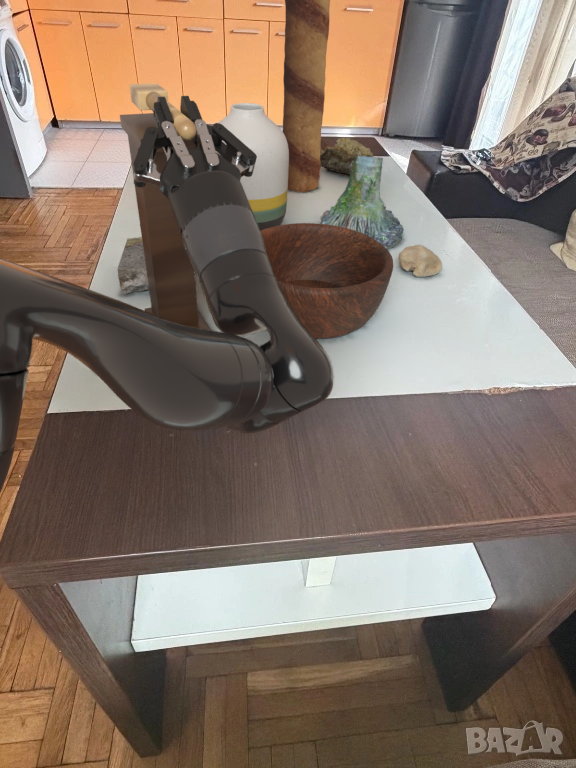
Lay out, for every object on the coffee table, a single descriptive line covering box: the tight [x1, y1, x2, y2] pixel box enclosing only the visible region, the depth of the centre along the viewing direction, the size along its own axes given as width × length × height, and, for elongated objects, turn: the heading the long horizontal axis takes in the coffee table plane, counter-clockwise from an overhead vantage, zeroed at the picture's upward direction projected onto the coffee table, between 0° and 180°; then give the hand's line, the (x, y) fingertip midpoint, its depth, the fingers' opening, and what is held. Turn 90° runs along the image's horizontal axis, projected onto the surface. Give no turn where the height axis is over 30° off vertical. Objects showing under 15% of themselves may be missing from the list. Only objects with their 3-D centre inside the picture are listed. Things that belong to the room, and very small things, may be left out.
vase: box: [216, 102, 289, 231], centre depth 109 cm, size 17×17×24 cm
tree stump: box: [319, 156, 404, 250], centre depth 114 cm, size 18×20×18 cm
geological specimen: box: [116, 236, 149, 296], centre depth 95 cm, size 11×6×15 cm
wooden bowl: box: [261, 222, 394, 340], centre depth 87 cm, size 25×25×10 cm
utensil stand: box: [119, 112, 211, 330], centre depth 74 cm, size 12×8×30 cm, turn 25°
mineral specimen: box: [320, 137, 375, 176], centre depth 145 cm, size 14×13×10 cm
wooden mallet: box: [129, 83, 196, 141], centre depth 60 cm, size 20×4×2 cm, turn 25°
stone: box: [398, 244, 443, 278], centre depth 102 cm, size 7×6×8 cm
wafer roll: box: [282, 0, 331, 193], centre depth 124 cm, size 10×11×45 cm
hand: (172, 103), depth 57 cm, fingers closed on wooden mallet, 2 cm apart
